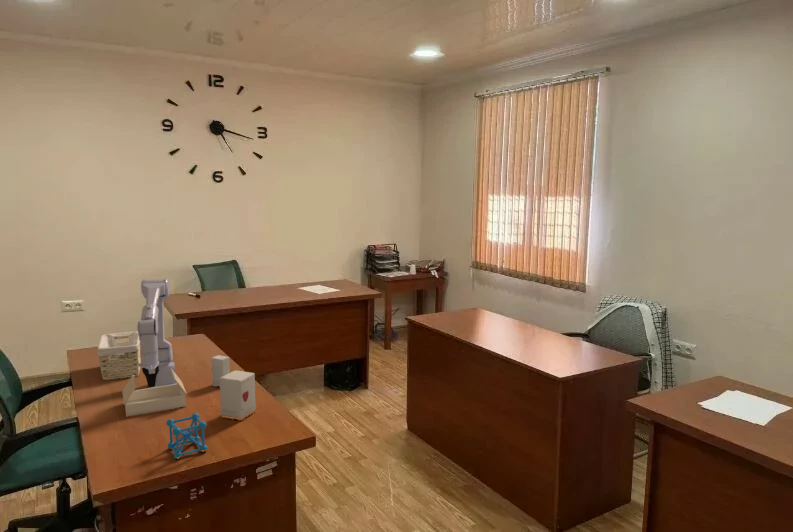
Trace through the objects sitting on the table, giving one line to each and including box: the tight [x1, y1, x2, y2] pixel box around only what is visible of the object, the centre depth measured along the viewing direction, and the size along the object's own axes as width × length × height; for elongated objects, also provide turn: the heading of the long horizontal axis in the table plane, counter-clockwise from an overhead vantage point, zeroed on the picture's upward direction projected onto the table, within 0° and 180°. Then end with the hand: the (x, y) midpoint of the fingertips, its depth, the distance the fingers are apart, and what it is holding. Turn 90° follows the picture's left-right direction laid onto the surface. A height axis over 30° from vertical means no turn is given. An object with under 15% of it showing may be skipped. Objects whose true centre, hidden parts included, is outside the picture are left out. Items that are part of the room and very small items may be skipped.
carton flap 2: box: [171, 368, 188, 395], centre depth 212 cm, size 7×14×1 cm
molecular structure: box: [166, 412, 208, 458], centre depth 174 cm, size 10×10×10 cm
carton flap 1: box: [122, 375, 137, 405], centre depth 205 cm, size 7×14×1 cm
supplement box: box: [219, 370, 256, 418], centre depth 200 cm, size 9×9×15 cm
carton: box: [124, 383, 187, 418], centre depth 209 cm, size 20×14×4 cm
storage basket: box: [97, 330, 142, 381], centre depth 246 cm, size 24×16×15 cm
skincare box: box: [210, 354, 231, 387], centre depth 229 cm, size 6×4×12 cm
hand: (151, 386), depth 208 cm, fingers closed
